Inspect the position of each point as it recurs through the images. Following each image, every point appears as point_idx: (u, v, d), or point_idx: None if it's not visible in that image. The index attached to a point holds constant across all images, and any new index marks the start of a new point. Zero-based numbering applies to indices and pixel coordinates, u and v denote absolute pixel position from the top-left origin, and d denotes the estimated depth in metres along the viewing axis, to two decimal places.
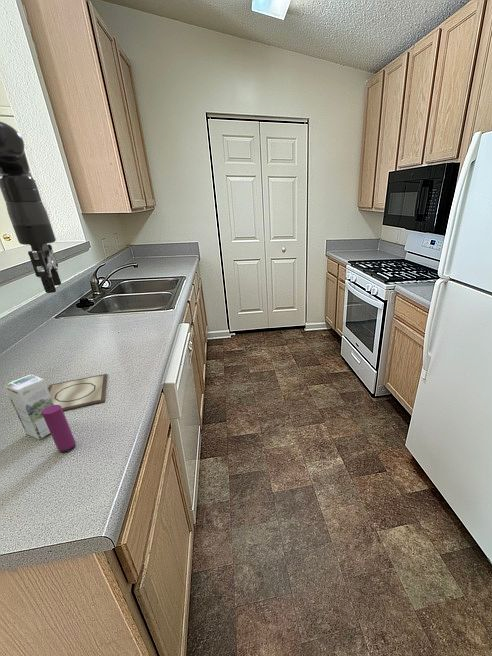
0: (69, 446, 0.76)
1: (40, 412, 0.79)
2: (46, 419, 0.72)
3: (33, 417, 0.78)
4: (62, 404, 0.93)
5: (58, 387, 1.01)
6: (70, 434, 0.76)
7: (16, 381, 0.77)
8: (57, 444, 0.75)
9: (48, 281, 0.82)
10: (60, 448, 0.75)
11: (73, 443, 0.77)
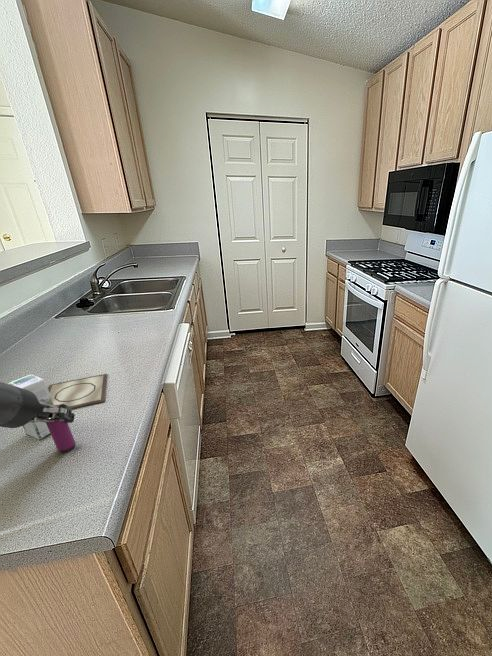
0: (69, 446, 0.76)
1: None
2: None
3: None
4: None
5: (58, 387, 1.01)
6: (70, 434, 0.76)
7: (16, 381, 0.77)
8: (57, 444, 0.75)
9: None
10: (60, 448, 0.75)
11: (73, 443, 0.77)
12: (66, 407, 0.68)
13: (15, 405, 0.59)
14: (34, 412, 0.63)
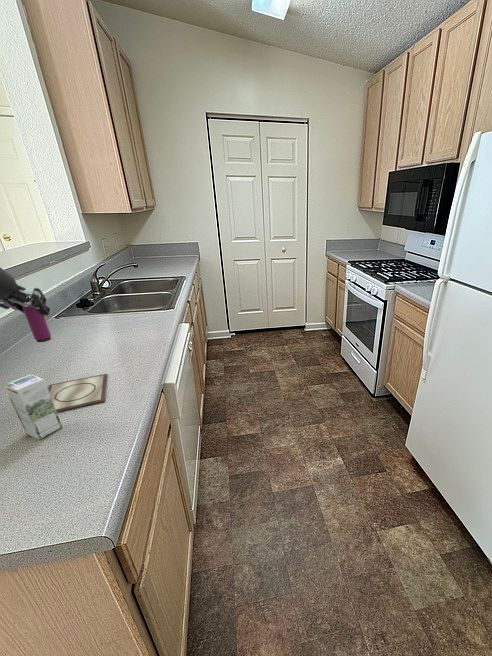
0: (45, 337, 0.86)
1: (40, 412, 0.79)
2: (24, 307, 0.82)
3: (33, 417, 0.78)
4: (62, 404, 0.93)
5: (58, 387, 1.01)
6: (46, 326, 0.86)
7: (16, 381, 0.77)
8: (34, 333, 0.85)
9: None
10: (37, 337, 0.86)
11: (49, 335, 0.87)
12: (40, 292, 0.79)
13: None
14: (11, 288, 0.74)
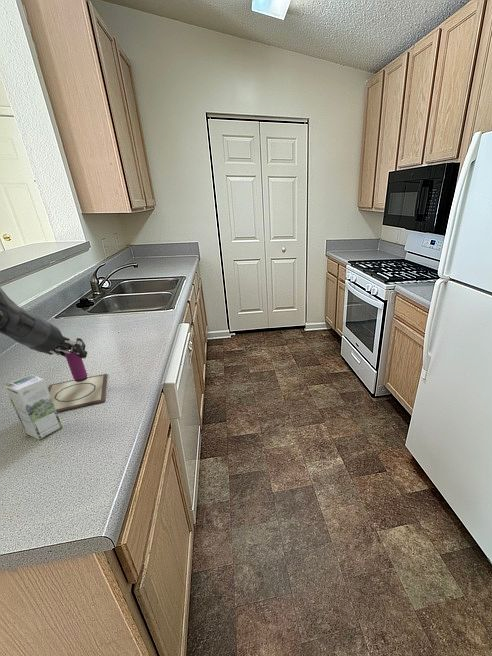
0: (82, 377, 0.98)
1: (40, 412, 0.79)
2: None
3: (33, 417, 0.78)
4: (62, 404, 0.93)
5: (58, 387, 1.01)
6: (83, 367, 0.98)
7: (16, 381, 0.77)
8: (73, 374, 0.96)
9: None
10: (76, 377, 0.97)
11: (85, 375, 0.99)
12: (81, 341, 0.90)
13: (46, 332, 0.81)
14: (59, 341, 0.85)
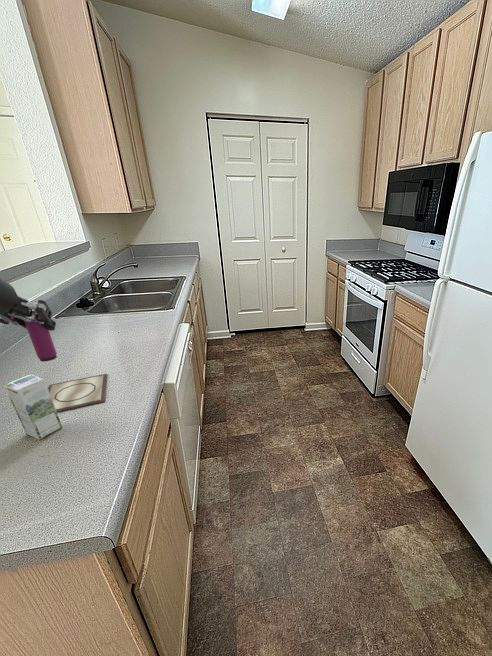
0: (50, 355, 0.75)
1: (40, 412, 0.79)
2: (26, 321, 0.71)
3: (33, 417, 0.78)
4: (62, 404, 0.93)
5: (58, 387, 1.01)
6: (51, 342, 0.75)
7: (16, 381, 0.77)
8: (37, 351, 0.74)
9: None
10: (40, 356, 0.74)
11: (54, 353, 0.76)
12: (45, 304, 0.67)
13: None
14: (11, 301, 0.63)
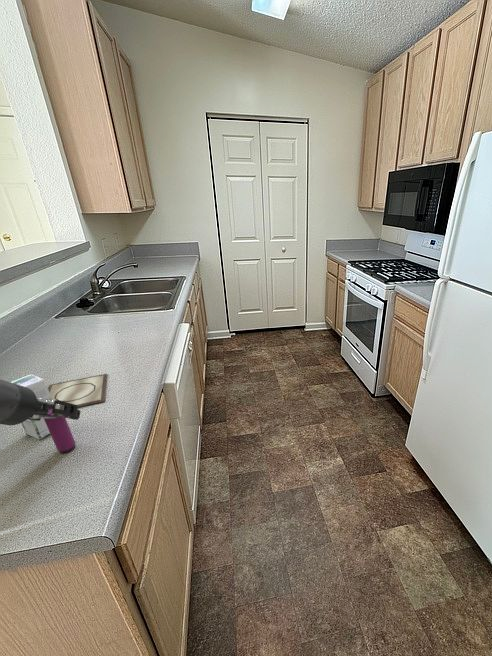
0: (69, 447, 0.76)
1: None
2: (46, 420, 0.71)
3: None
4: None
5: (58, 387, 1.01)
6: (70, 435, 0.76)
7: (16, 381, 0.77)
8: (57, 445, 0.75)
9: None
10: (60, 449, 0.75)
11: (73, 444, 0.77)
12: (62, 403, 0.66)
13: (13, 402, 0.58)
14: (33, 409, 0.63)
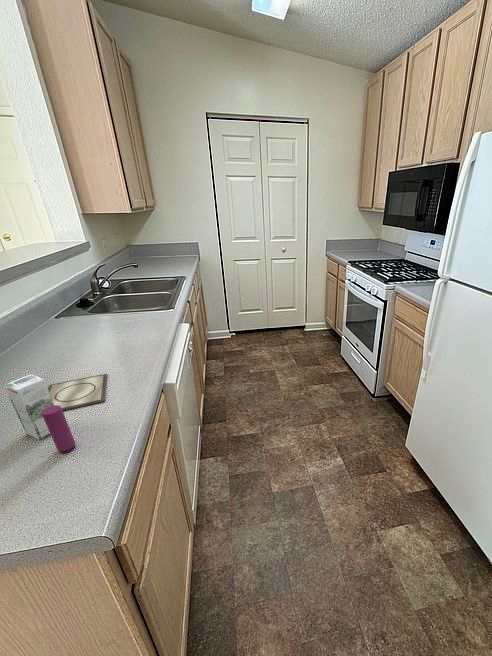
0: (69, 447, 0.76)
1: (40, 412, 0.79)
2: (46, 420, 0.71)
3: (33, 417, 0.78)
4: (62, 404, 0.93)
5: (58, 387, 1.01)
6: (70, 435, 0.76)
7: (16, 381, 0.77)
8: (57, 445, 0.75)
9: None
10: (60, 449, 0.75)
11: (73, 444, 0.77)
12: None
13: None
14: None
